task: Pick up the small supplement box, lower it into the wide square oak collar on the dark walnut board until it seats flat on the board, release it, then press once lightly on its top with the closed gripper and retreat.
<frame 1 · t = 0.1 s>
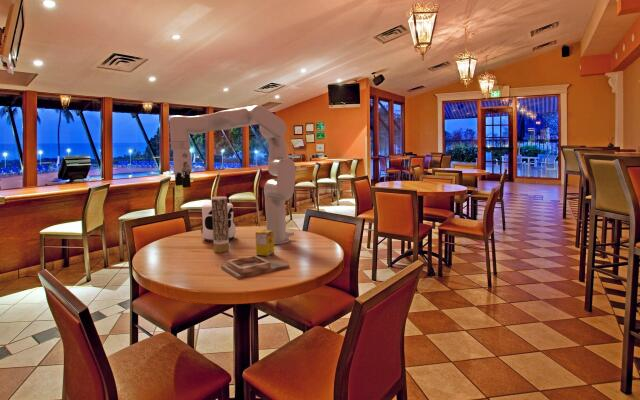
hand: (182, 186, 169), 31 cm above the table, tool pointing down, fingers open, 9 cm apart
milk container: (219, 239, 206), on the table
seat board: (255, 267, 157), on the table
wooden log: (221, 251, 182), on the table
supplement box: (265, 255, 176), on the table
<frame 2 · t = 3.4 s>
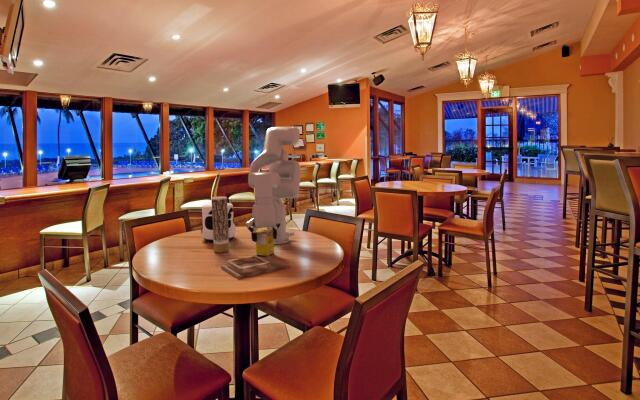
hand: (264, 240, 174), 7 cm above the table, tool pointing down, fingers open, 9 cm apart
nothing on the table moved.
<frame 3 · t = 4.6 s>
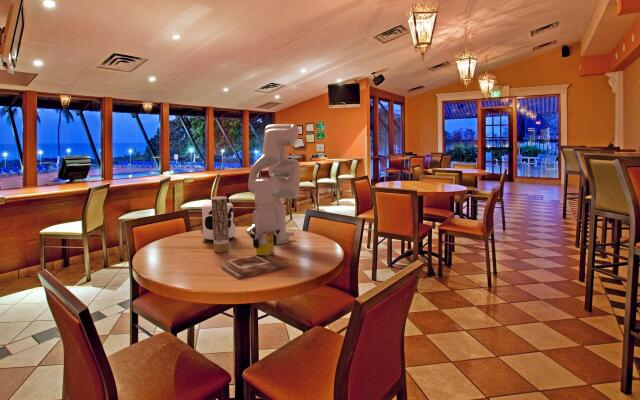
hand: (265, 246, 175), 4 cm above the table, tool pointing down, fingers closed on supplement box, 8 cm apart
supplement box: (265, 255, 176), on the table, touching gripper
everything else where it was.
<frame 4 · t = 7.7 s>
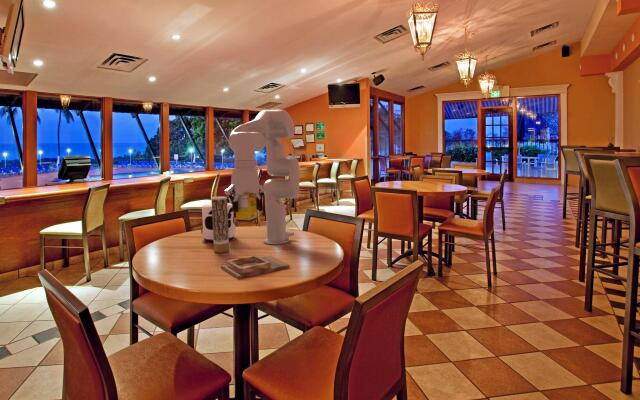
hand: (246, 210, 152), 24 cm above the table, tool pointing down, fingers closed on supplement box, 8 cm apart
supplement box: (246, 221, 153), point 19 cm above the table, touching gripper
everything else where it was.
when the fingers open (6 cm above the table, at t = 10.9 s): supplement box stays where it is, resting on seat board.
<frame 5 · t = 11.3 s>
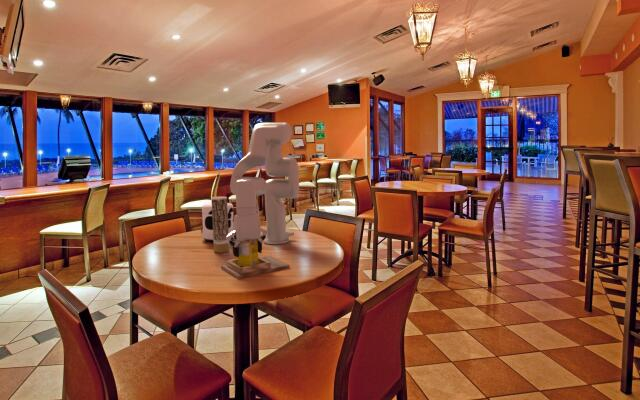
hand: (247, 254, 155), 6 cm above the table, tool pointing down, fingers open, 9 cm apart
supplement box: (248, 266, 156), point 1 cm above the table, touching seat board
everything else where it was.
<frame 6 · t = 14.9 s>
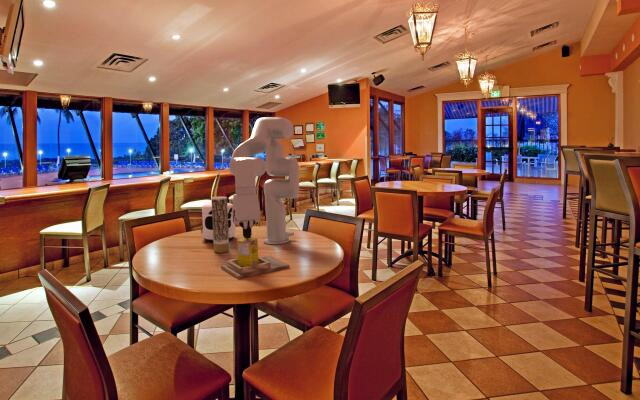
hand: (247, 237, 154), 13 cm above the table, tool pointing down, fingers closed
nothing on the table moved.
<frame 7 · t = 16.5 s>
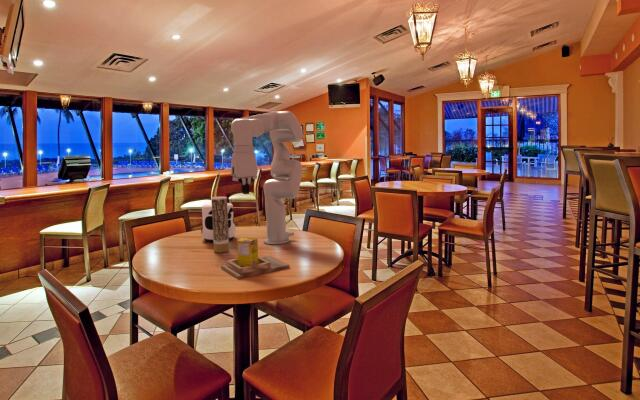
hand: (245, 193, 166), 28 cm above the table, tool pointing down, fingers closed
nothing on the table moved.
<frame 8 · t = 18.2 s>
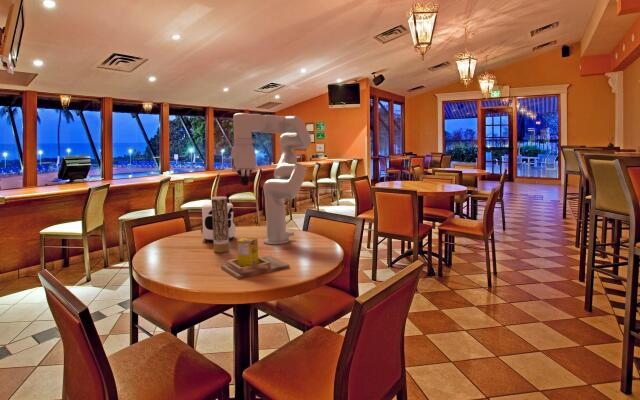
hand: (244, 185, 173), 31 cm above the table, tool pointing down, fingers closed
nothing on the table moved.
at the end: supplement box 0.2 cm from the target spot on the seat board, point 1.0 cm above the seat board's base; supplement box tilted 0°; the gripper is holding nothing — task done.
